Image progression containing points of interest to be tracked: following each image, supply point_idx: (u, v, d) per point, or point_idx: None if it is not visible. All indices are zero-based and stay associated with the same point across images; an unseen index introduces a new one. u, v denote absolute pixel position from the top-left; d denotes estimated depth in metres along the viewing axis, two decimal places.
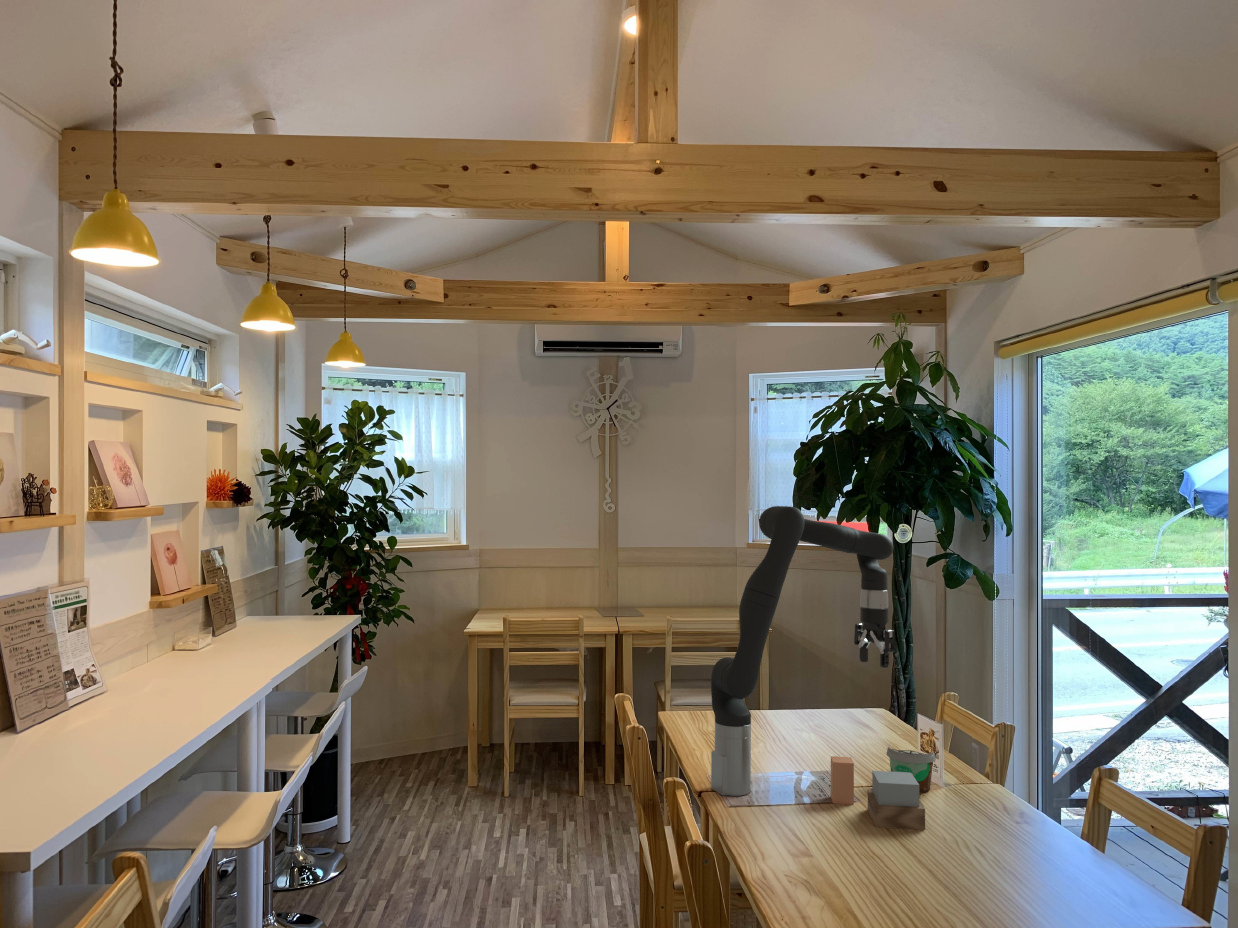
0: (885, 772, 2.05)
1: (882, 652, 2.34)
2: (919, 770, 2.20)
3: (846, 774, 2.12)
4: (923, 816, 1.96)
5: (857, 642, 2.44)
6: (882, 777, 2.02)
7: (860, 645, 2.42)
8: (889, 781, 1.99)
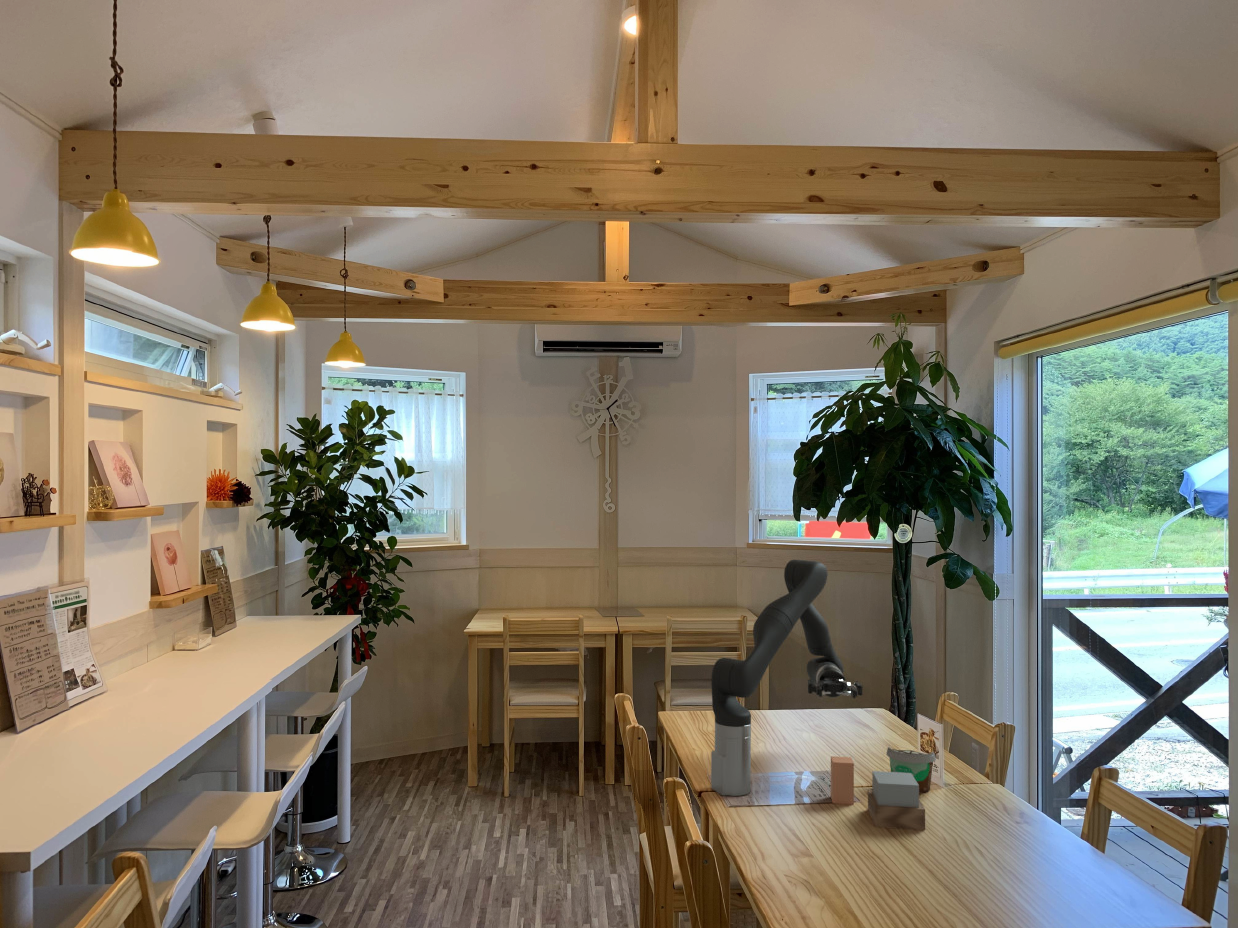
0: (885, 773, 2.05)
1: (854, 686, 2.28)
2: (919, 770, 2.20)
3: (846, 774, 2.12)
4: (923, 816, 1.95)
5: None
6: (882, 777, 2.02)
7: (818, 684, 2.30)
8: (888, 781, 1.99)
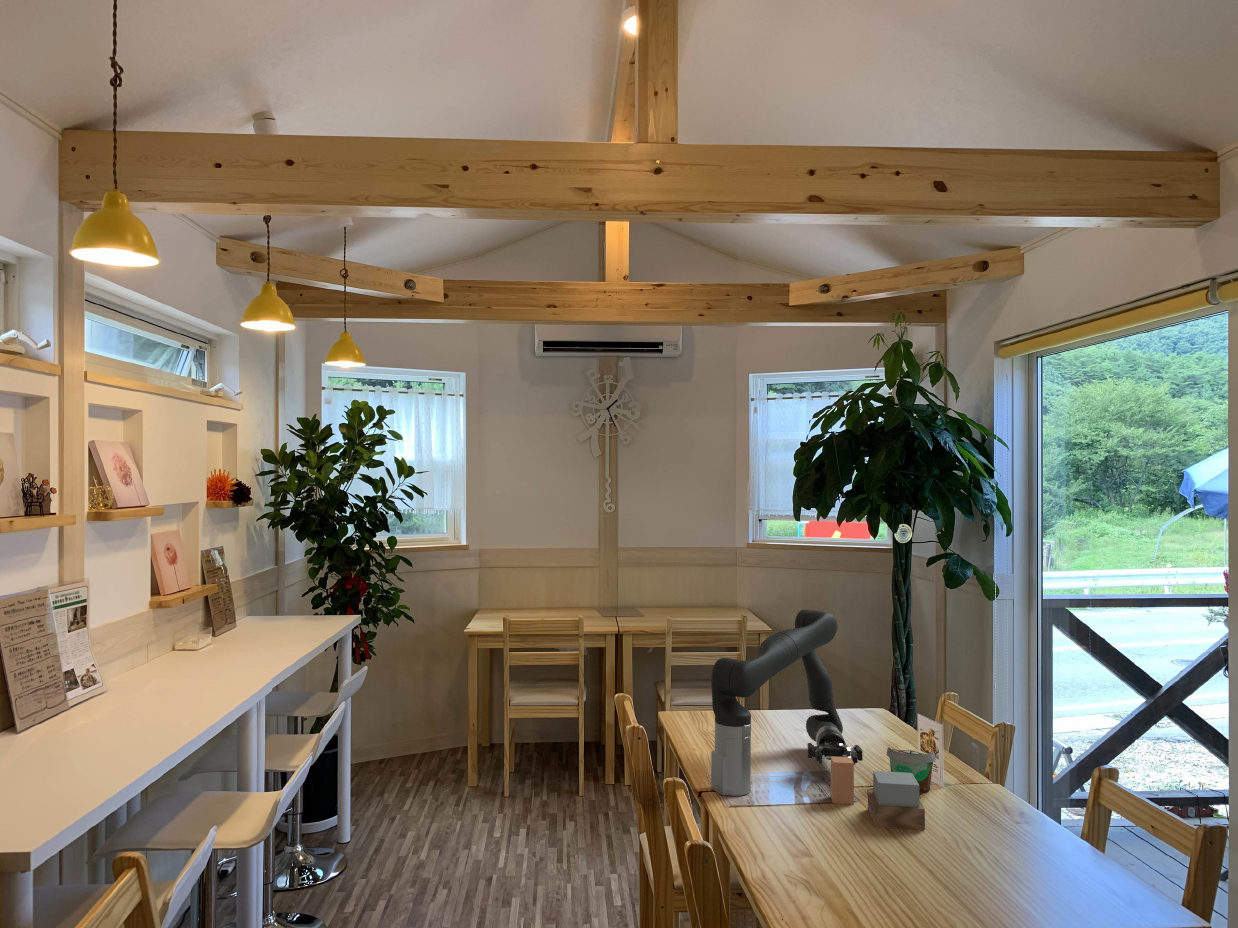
0: (885, 773, 2.05)
1: (854, 751, 2.28)
2: (919, 770, 2.20)
3: (846, 774, 2.12)
4: (923, 816, 1.96)
5: (812, 749, 2.30)
6: (882, 777, 2.02)
7: (818, 749, 2.29)
8: (889, 781, 1.99)
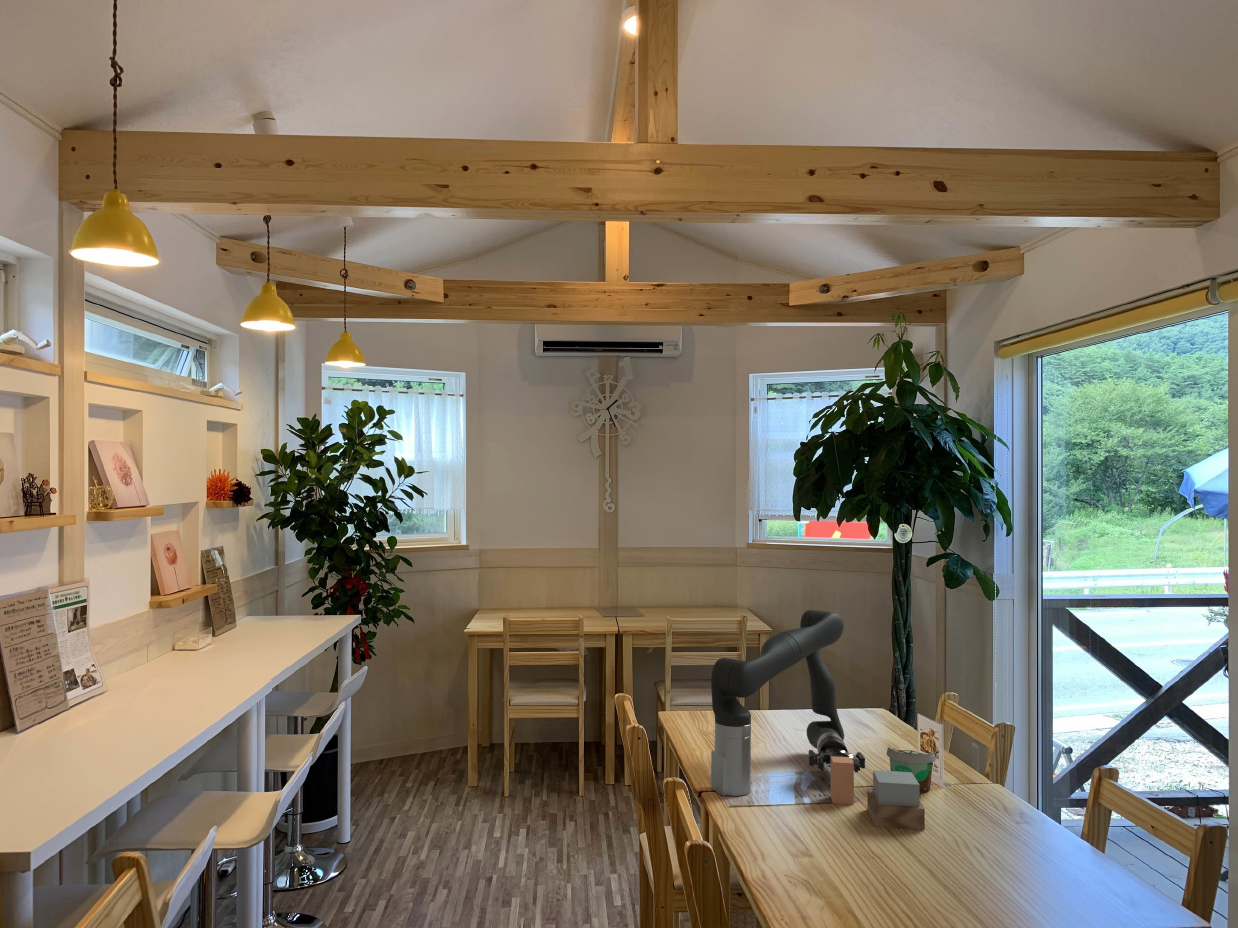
0: (885, 772, 2.06)
1: (857, 758, 2.22)
2: (919, 770, 2.20)
3: (846, 774, 2.12)
4: (922, 816, 1.96)
5: (813, 756, 2.25)
6: (882, 776, 2.02)
7: (820, 756, 2.24)
8: (889, 780, 1.99)
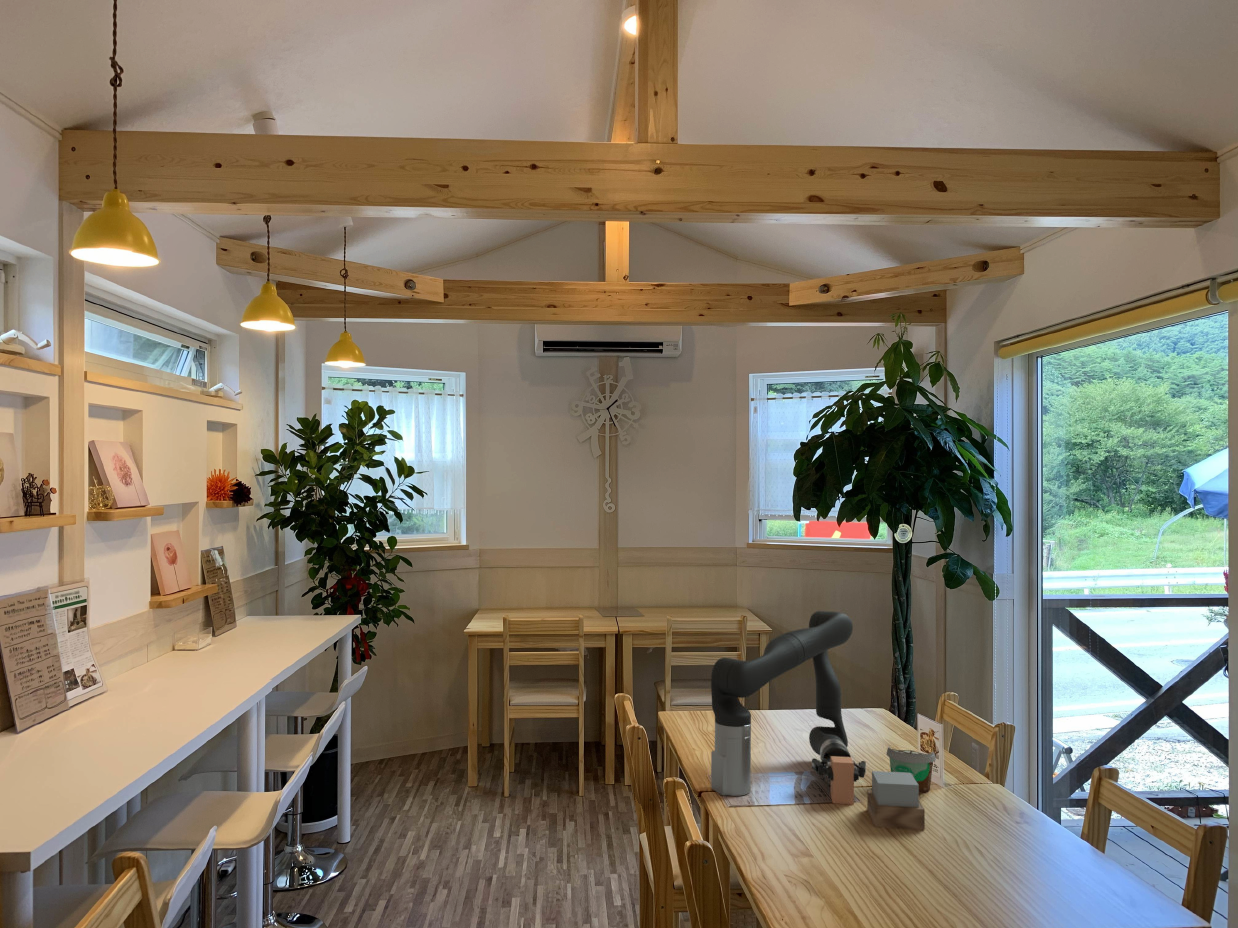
0: (884, 773, 2.05)
1: (855, 767, 2.15)
2: (919, 770, 2.20)
3: (846, 774, 2.12)
4: (922, 816, 1.95)
5: (822, 765, 2.17)
6: (881, 777, 2.02)
7: (829, 765, 2.16)
8: (888, 781, 1.99)
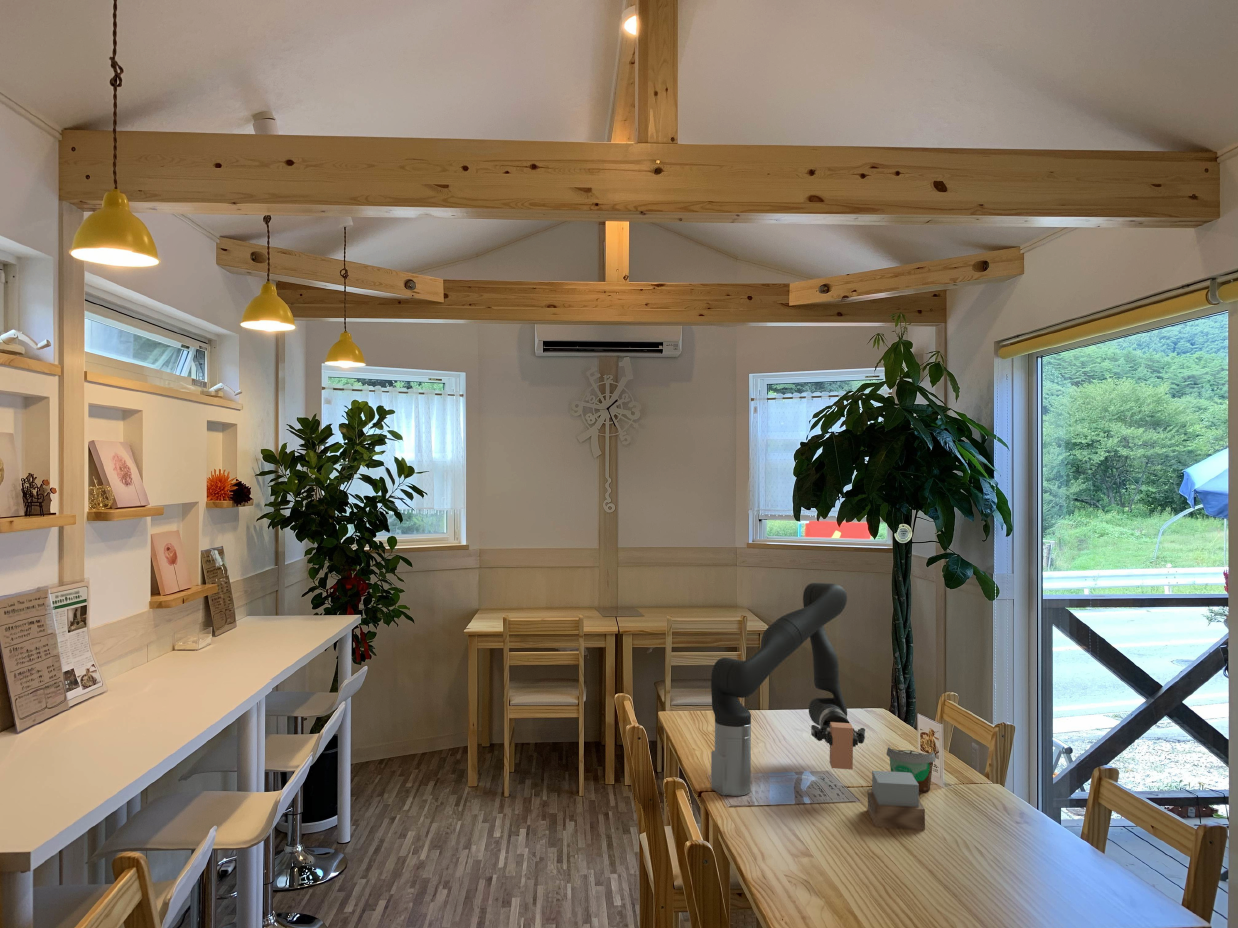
0: (884, 772, 2.05)
1: (854, 733, 2.15)
2: (919, 770, 2.20)
3: (845, 739, 2.12)
4: (923, 816, 1.95)
5: (822, 731, 2.17)
6: (881, 777, 2.02)
7: (829, 731, 2.17)
8: (888, 781, 1.99)
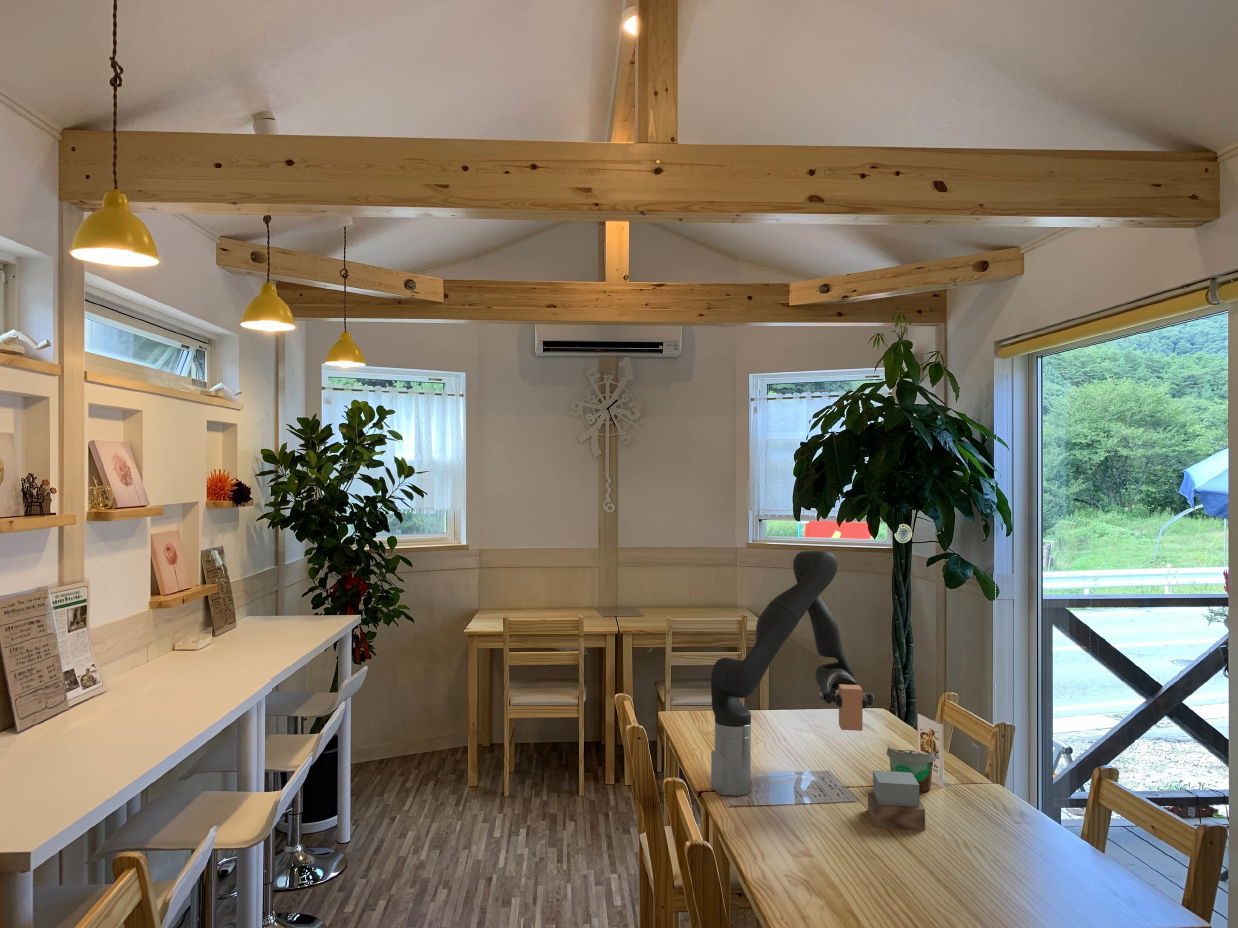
0: (885, 772, 2.05)
1: (864, 695, 2.14)
2: (919, 770, 2.20)
3: (854, 701, 2.11)
4: (923, 816, 1.95)
5: (831, 693, 2.16)
6: (882, 776, 2.02)
7: (838, 693, 2.15)
8: (889, 781, 1.99)
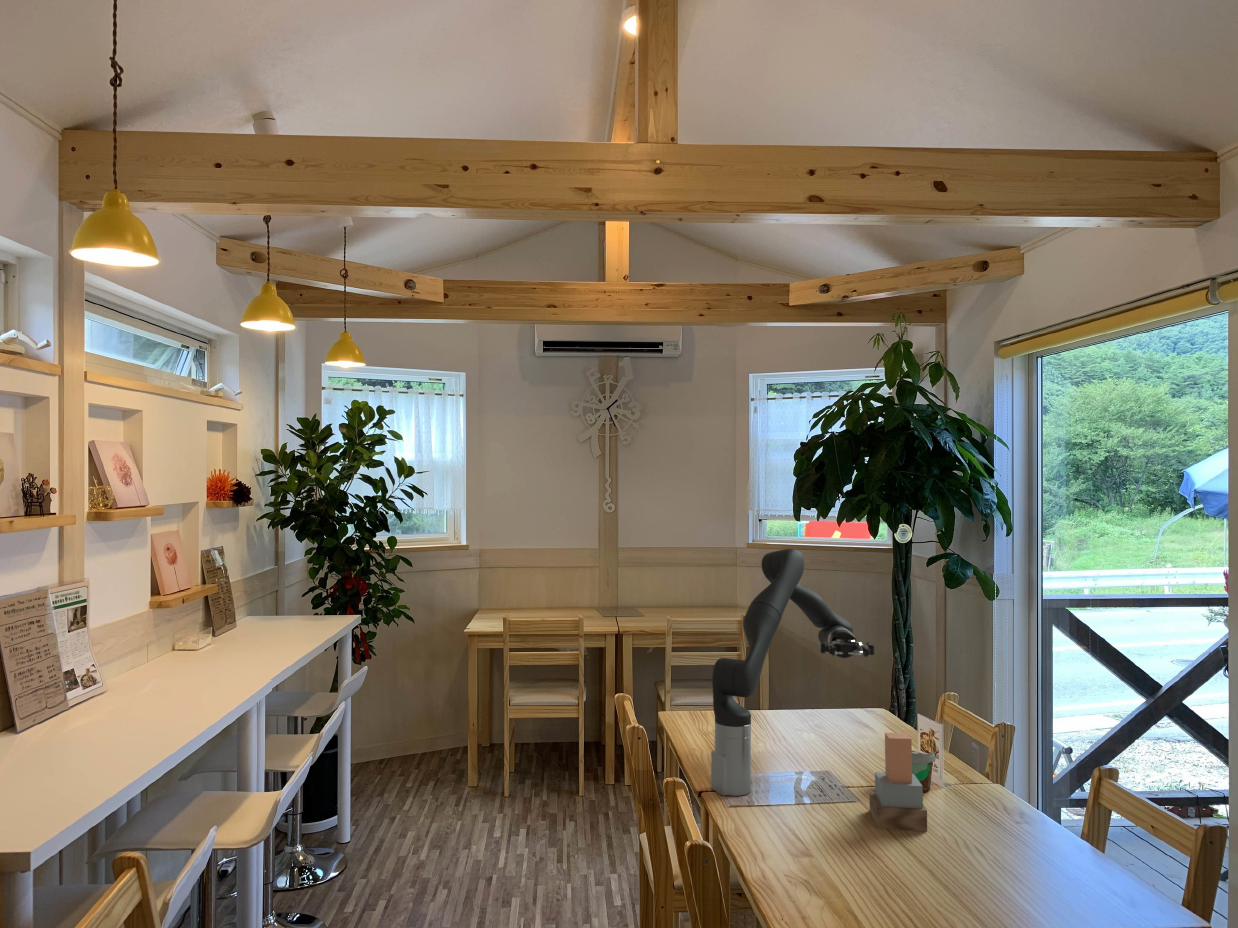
0: None
1: (866, 645, 2.33)
2: (919, 770, 2.20)
3: (903, 751, 1.99)
4: (925, 818, 1.95)
5: (825, 644, 2.36)
6: (885, 778, 2.01)
7: (831, 644, 2.35)
8: (892, 782, 1.98)
